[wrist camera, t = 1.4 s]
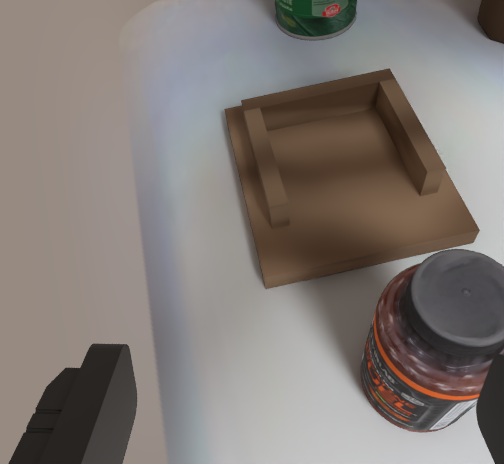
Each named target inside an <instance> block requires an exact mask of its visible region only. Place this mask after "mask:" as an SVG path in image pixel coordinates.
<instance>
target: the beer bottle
mask: <svg viewBox="0 0 504 464" xmlns="http://www.w3.org/2000/svg"><path fill="white" fill-rule="evenodd" d="M477 18H478V22H479V23H480V25H481V26H482V28H483V29H484V31H485V32H486V34H487V35H488V37H489V38H490V39H491V40H494V41H497V42H501V43H504V0H482V1H481V5H480V9H479V13H478V17H477Z"/></svg>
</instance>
